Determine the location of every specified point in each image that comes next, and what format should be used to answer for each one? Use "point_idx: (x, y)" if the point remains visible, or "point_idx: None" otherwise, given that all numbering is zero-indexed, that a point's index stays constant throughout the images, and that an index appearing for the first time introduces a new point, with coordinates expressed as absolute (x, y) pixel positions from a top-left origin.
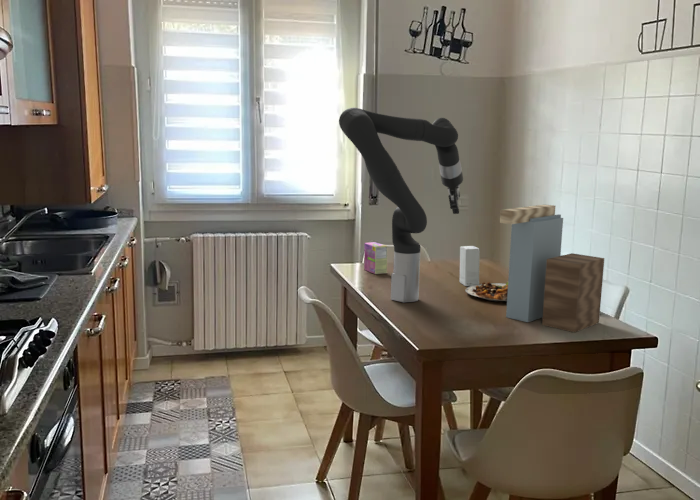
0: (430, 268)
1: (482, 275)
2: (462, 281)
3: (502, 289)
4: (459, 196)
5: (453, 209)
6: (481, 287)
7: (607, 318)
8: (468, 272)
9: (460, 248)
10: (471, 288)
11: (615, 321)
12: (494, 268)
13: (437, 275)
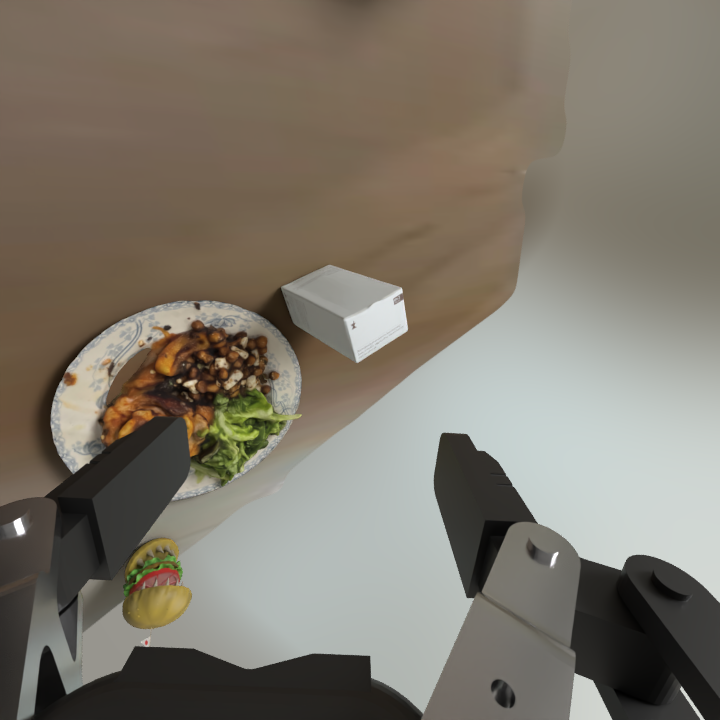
0: (463, 173)
1: None
2: (305, 278)
3: None
4: (436, 492)
5: (64, 487)
6: (221, 347)
7: None
8: (302, 306)
9: (393, 288)
10: (227, 314)
11: None
12: (459, 325)
13: (395, 194)
